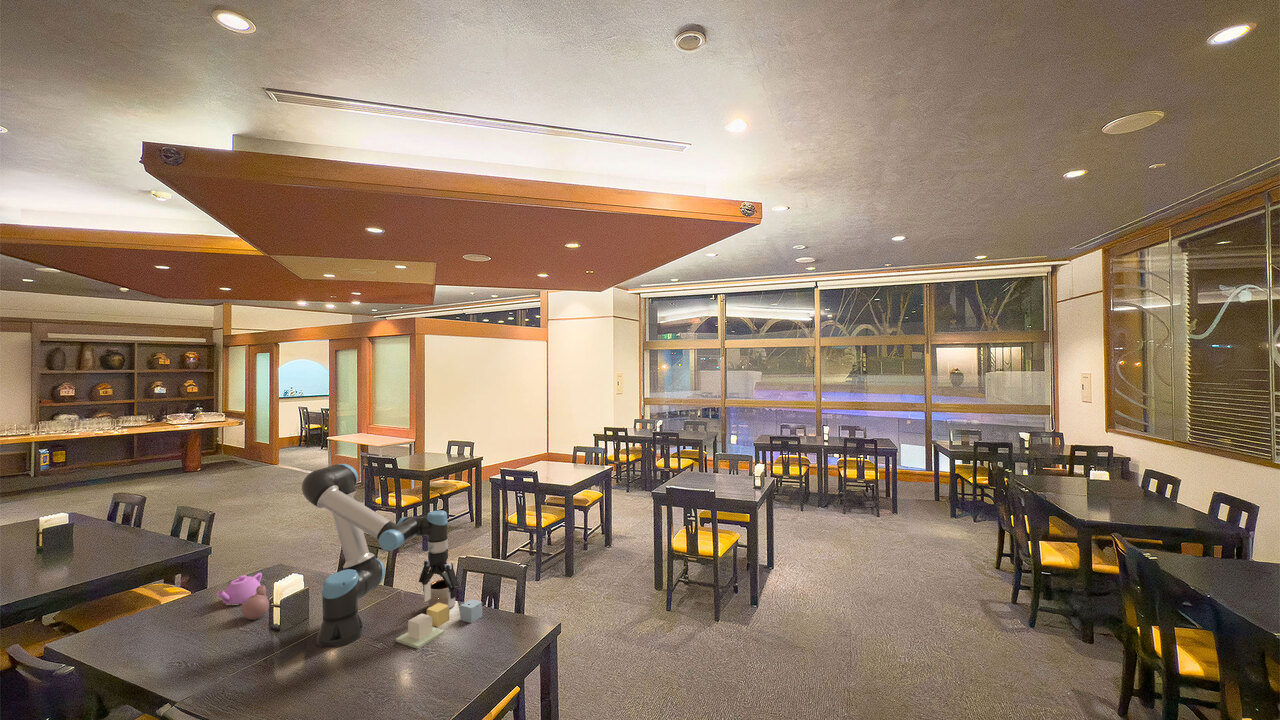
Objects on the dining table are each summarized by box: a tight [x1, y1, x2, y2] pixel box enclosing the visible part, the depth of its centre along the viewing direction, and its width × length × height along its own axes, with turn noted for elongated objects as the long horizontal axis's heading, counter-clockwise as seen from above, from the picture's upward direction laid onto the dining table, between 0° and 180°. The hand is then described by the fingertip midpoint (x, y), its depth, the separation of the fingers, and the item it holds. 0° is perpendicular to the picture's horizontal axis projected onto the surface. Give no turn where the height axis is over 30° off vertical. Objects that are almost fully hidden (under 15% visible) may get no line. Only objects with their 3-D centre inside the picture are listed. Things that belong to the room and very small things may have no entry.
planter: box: [427, 578, 454, 610], centre depth 210 cm, size 11×11×10 cm
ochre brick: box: [426, 603, 450, 628], centre depth 197 cm, size 6×6×6 cm
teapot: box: [216, 572, 263, 605], centre depth 218 cm, size 14×20×11 cm
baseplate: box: [395, 613, 445, 650], centre depth 186 cm, size 12×12×7 cm
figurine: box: [240, 585, 270, 620], centre depth 202 cm, size 9×11×12 cm
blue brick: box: [459, 598, 483, 624], centre depth 200 cm, size 6×6×6 cm
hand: (439, 603), depth 197 cm, fingers open, 13 cm apart
